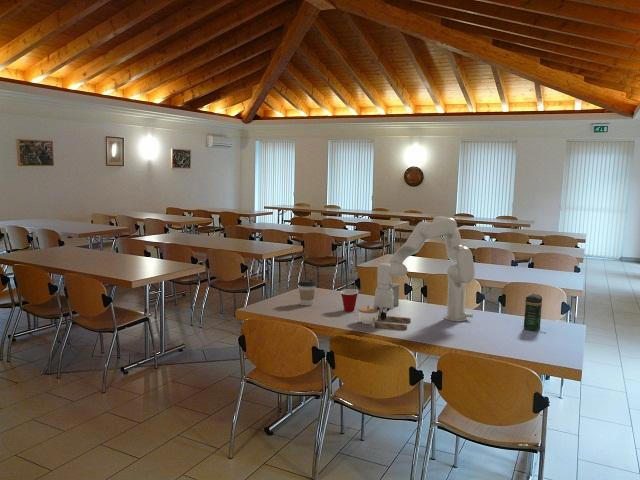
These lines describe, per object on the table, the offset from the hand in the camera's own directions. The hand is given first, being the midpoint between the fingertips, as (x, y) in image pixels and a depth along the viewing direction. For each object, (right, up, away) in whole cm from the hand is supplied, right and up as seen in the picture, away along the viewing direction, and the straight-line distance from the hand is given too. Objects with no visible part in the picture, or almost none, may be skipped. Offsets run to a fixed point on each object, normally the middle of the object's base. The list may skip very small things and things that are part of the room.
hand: (383, 319), depth 301 cm
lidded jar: (-8, -2, +2) cm, 9 cm away
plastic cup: (-17, +1, +27) cm, 32 cm away
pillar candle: (+9, +2, +42) cm, 43 cm away
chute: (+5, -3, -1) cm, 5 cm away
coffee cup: (-42, +3, +41) cm, 59 cm away
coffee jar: (+78, -5, -5) cm, 79 cm away
